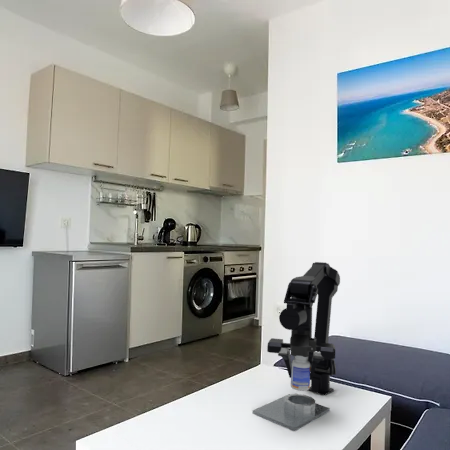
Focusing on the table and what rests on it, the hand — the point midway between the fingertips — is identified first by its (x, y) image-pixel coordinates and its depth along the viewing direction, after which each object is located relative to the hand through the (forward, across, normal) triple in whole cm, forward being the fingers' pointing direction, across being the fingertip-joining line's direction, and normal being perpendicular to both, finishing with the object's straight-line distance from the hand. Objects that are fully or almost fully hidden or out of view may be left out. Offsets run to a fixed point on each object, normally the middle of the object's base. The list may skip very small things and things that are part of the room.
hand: (300, 378), depth 112 cm
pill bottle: (+3, 0, 0) cm, 3 cm away
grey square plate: (+10, -2, 0) cm, 10 cm away
